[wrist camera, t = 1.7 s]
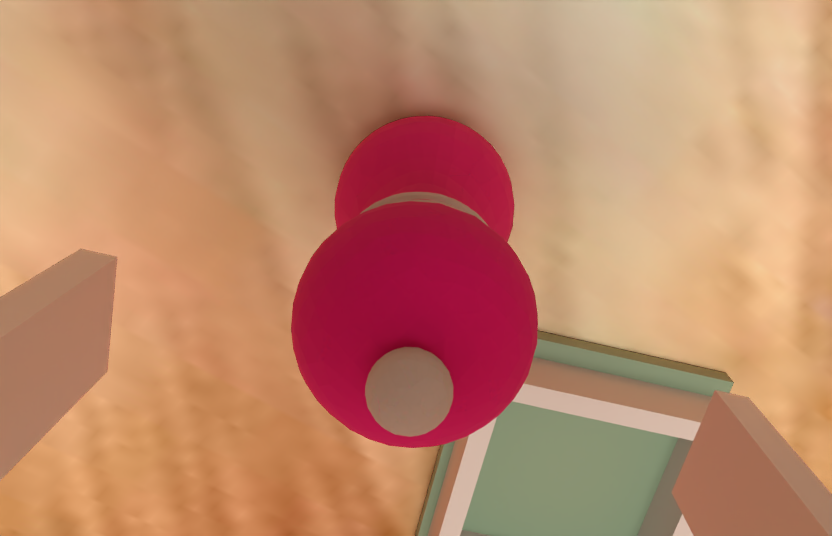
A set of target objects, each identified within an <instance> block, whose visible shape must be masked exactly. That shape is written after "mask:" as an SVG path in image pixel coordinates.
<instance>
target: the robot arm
mask: <svg viewBox="0 0 832 536" xmlns="http://www.w3.org/2000/svg"><path fill="white" fill-rule="evenodd" d="M116 266H117V257H116V256H111V255H107V254H102V253H98V252H93V251H89V250H84V249H80V250H78V251H76V252H75V253H73V254H71V255H70V256H68V257H66V258H65V259H63V260H61V261H60V262H58V263H56V264H55V265H53V266H51V267H50V268H48V269H46V270H45V271H43V272H41V273H40V274H38V275H36V276H35V277H33V278H31V279H30V280H28V281H26V282H25V283H23V284H21V285H20V286H18V287H16V288H15V289H13V290H11V291H10V292H8V293H6V294H5V295H3V296H1V297H0V480H1V479H2V478H3V477H4V476H5V475H6V474H7V473H8V472H9V471H10V470H11V469H12V468H13V467H14V466H15V465H16V464H17V463H18V462H19V461H20V460H21V459H22V458H23V457H24V456H25V455H26V454H27V453H28V452H29V451H30V450H31V449H32V448H33V447H34V446H35V445H36V444H37V443H38V442H39V441H40V440H41V439H42V437H43V436H44V435H45V434H46V433H47V432H48V431H49V430H50V429H51V428H52V427H53V426H54V425H55V424H56V423H57V422H58V421H59V420H60V419H61V418H62V417H63V416H64V415H65V414H66V413H67V412H68V411H69V410H70V409H71V408H72V407H73V406H74V405H75V404H76V403H77V402H78V401H79V400H80V399H81V398H82V397H83V396H84V395H85V394H86V393H87V392H88V391H89V390H90V389H91V388H92V386H93V385H94V384H95V383H96V382H97V381H98V380H99V379H100V378H101V377H102V376H103V375H104V374H105V373H106V372H107V369H108V357H109V346H110V335H111V323H112V312H113V300H114V289H115V278H116ZM671 493H672V495H673V497H674V499H675V500H676V502H677V504H678V506H679V508H680V510H681V512H682V514H683V516H684V518H685V520H686V522H687V524H688V526H689V528H690V530H691V532H692V534H693V536H832V494H831V493H830V492H829V491H828V489H827V488H826V487H825V486H824V485H823V484H822V482H821V481H820V480H819V479H818V478H817V477H816V475H815V474H814V473H813V472H812V471H811V470H810V468H809V467H808V466H807V465H806V464H805V463H804V461H803V460H802V459H801V458H800V457H799V456H798V454H797V453H796V452H795V451H794V450H793V449H792V448H791V446H790V445H789V444H788V443H787V442H786V441H785V439H784V438H783V437H782V436H781V435H780V434H779V432H778V431H777V430H776V429H775V428H774V427H773V425H772V424H771V423H770V422H769V421H768V420H767V418H766V417H765V416H764V415H763V414H762V413H761V411H760V410H759V409H758V408H757V407H756V406H755V404H754V403H753V402H752V401H751V400H750V399H749V398H748V397H745V396H740V395H736V394H731V393H727V392H722V391H718V390H715V391H714V393H713V396H712V398H711V400H710V403H709V405H708V408H707V410H706V412H705V415H704V417H703V419H702V422H701V424H700V426H699V429H698V431H697V433H696V436H695V438H694V441H693V443H692V445H691V448H690V450H689V452H688V455H687V457H686V459H685V462H684V464H683V466H682V469H681V471H680V473H679V476H678V478H677V481H676V483H675V485H674V488H673V490H672V492H671Z"/></svg>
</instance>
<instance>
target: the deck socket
mask: <svg viewBox="0 0 832 536" xmlns="http://www.w3.org/2000/svg"><path fill="white" fill-rule="evenodd" d="M733 383H734V382H733V381H732V380H731V379H730V377H729V376H728V375H727V374H726V373H724V372H720V371H715V370H711V369H706V368H702V367H697V366H693V365H689V364H684V363H680V362H675V361H671V360H666V359H662V358H657V357H653V356H648V355H644V354H639V353H635V352H631V351H626V350H622V349H617V348H613V347H608V346H604V345H599V344H595V343H590V342H586V341H581V340H577V339H572V338H568V337H564V336H559V335H555V334H550V333H546V332H541V331H537V346H536V349H535V353H534V357H533V360H532V364H531V367H530V371H529V374H528V376H527V378H526V380H525V382H524V384H523V385H522V387H521V389H520V390H519V392H518V393H517V395H516V397H515V398H514V400H513V401H512V402H511V403H510V404H509V405H508V406H507V407H506V408H505V409H504V411H503V412H502V413H501V414H500V415H499V416H497V417H496V418H495V419H493V420H492V421H491V422H490V423H488V424H487V425H486V426H484V427H482V428H481V429H479V430H477V431H475V432H474V433H472V434H470V435H468V436H466V437H464V438H461V439H458V440H456V441H453V442H450V443H447V444H443V445H441V446H440V449H439V453H438V456H437V460H436V463H435V467H434V470H433V474H432V478H431V481H430V485H429V488H428V492H427V495H426V499H425V502H424V506H423V509H422V513H421V516H420V520H419V523H418V527H417V530H416V534H415V536H693V534H692V532H691V530H690V528H689V526H688V524H687V522H686V520H685V518H684V516H683V514H682V512H681V510H680V508H679V506H678V504H677V502H676V500H675V499H674V497H673V495H672V493H671V492H672V490H673V488H674V485H675V483H676V481H677V478H678V476H679V473H680V471H681V469H682V466H683V464H684V462H685V459H686V457H687V455H688V452H689V450H690V448H691V445H692V443H693V441H694V438H695V436H696V433H697V431H698V429H699V426H700V424H701V422H702V419H703V417H704V415H705V412H706V410H707V408H708V405H709V403H710V400H711V398H712V396H713V393H714V391H715V390H718V391H722V392H727V393H729V392H730V390H731V388H732V386H733Z"/></svg>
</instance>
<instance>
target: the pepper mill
mask: <svg viewBox="0 0 832 536" xmlns="http://www.w3.org/2000/svg"><path fill="white" fill-rule="evenodd" d="M513 215H514V199H513V192H512V185H511V181H510V178H509V175H508V172H507V169H506V167H505V165H504V163H503V161H502V159H501V157H500V156H499V155H498V153H497V152H496V151H495V149H494V148H493V147H492V145H491V144H490V143H488V142H487V141H486V140H485V139H484V138H483V137H482V136H481V135H480V134H478V133H477V132H475V131H474V130H472V129H471V128H469V127H467V126H465V125H463V124H461V123H458V122H456V121H453V120H450V119H446V118H442V117H435V116H413V117H408V118H403V119H399V120H396V121H394V122H391V123H388V124H386V125H384V126H382V127H381V128H379V129H377V130H375V131H374V132H372V133H371V134H370V135H369V136H367V137H366V138H365V139H364V140H363V141H362V142H361V143H360V144H359V145H358V146H357V147H356V148H355V150H354V151H353V152H352V154H351V155H350V157H349V159H348V160H347V162H346V163H345V166H344V168H343V171H342V173H341V176H340V179H339V183H338V187H337V191H336V196H335V220H336V226H337V230H336V231H335V232H334V233H333V234H331V235H330V236H329V237H328V238H327V239H326V240H325V241H324V242H323V243H322V244H321V245H320V247H319V248H318V249H317V251H316V252H315V253H314V254H313V256H312V257H311V259H310V261H309V263H308V265H307V267H306V269H305V271H304V273H303V275H302V277H301V279H300V282H299V284H298V288H297V292H296V295H295V299H294V302H293V311H292V324H291V332H292V340H293V349H294V352H295V356H296V360H297V363H298V367H299V370H300V372H301V374H302V376H303V378H304V380H305V383H306V384H307V386H308V387H309V389H310V390H311V392H312V393H313V395H314V396H315V398H316V399H317V401H318V402H319V403H320V404H321V405H322V406H323V407H324V408H325V409H326V410H327V411H328V412H329V413H330V414H331V415H332V416H333V417H335V418H336V419H337V420H339V421H340V422H341V423H342V424H344V425H345V426H346V427H347V428H349V429H350V430H352V431H354V432H356V433H358V434H360V435H362V436H364V437H366V438H368V439H370V440H374V441H377V442H380V443H383V444H386V445H389V446H399V447H408V448H416V447H431V446H437V445H443V444H447V443H450V442H453V441H456V440H458V439H461V438H464V437H466V436H468V435H470V434H472V433H474V432H475V431H477V430H479V429H481V428H482V427H484V426H486V425H487V424H488V423H490V422H491V421H492V420H493V419H495V418H496V417H497V416H499V415H500V414H501V413H502V412H503V411H504V409H505V408H506V407H507V406H508V405H509V404H510V403H511V402H512V401H513V400H514V398H515V397H516V395H517V393H518V392H519V390H520V389H521V387H522V385H523V384H524V382H525V380H526V378H527V376H528V374H529V371H530V367H531V364H532V360H533V357H534V353H535V349H536V346H537V327H538V319H537V307H536V300H535V294H534V291H533V288H532V285H531V282H530V279H529V276H528V274H527V273H526V271H525V269H524V267H523V265H522V264H521V262H520V260H519V258H518V257H517V255H516V253H515V252H514V251H513V249H512V248H511V247H510V246H509V244H508V243H507V242H508V239H509V236H510V233H511V230H512V226H513Z"/></svg>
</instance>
